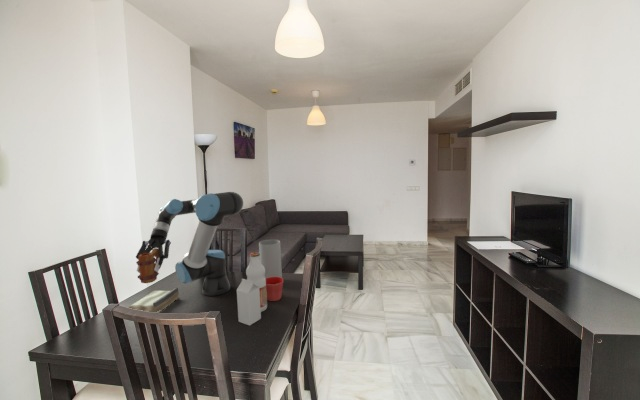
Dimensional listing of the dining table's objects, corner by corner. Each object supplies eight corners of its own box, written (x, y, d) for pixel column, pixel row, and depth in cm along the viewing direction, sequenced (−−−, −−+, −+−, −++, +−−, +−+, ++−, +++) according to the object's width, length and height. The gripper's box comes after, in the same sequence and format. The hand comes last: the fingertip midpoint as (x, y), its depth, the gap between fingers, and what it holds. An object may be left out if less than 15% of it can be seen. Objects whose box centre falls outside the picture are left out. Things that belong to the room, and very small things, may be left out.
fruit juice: (270, 308, 142) (268, 253, 139) (253, 315, 136) (249, 257, 133) (261, 302, 149) (258, 249, 146) (244, 308, 144) (241, 253, 140)
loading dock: (178, 298, 157) (177, 287, 156) (156, 315, 139) (155, 303, 139) (154, 297, 159) (153, 287, 158) (129, 314, 141) (128, 302, 140)
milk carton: (249, 326, 127) (247, 284, 125) (238, 321, 131) (235, 281, 129) (261, 318, 133) (259, 278, 131) (250, 314, 137) (247, 276, 135)
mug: (148, 285, 140) (145, 255, 138) (134, 285, 141) (130, 255, 140) (169, 274, 154) (167, 247, 152) (156, 274, 156) (153, 246, 154)
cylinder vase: (256, 285, 171) (254, 244, 169) (268, 277, 183) (266, 238, 180) (275, 288, 167) (273, 245, 164) (285, 280, 178) (284, 240, 175)
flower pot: (288, 295, 157) (287, 277, 156) (276, 304, 147) (276, 285, 146) (271, 292, 161) (270, 275, 160) (259, 300, 151) (258, 282, 150)
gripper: (182, 234, 161) (171, 273, 147) (143, 236, 160) (129, 275, 146) (177, 227, 156) (165, 266, 141) (137, 229, 154) (122, 269, 140)
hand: (147, 271), depth 144 cm, fingers closed on mug, 8 cm apart
